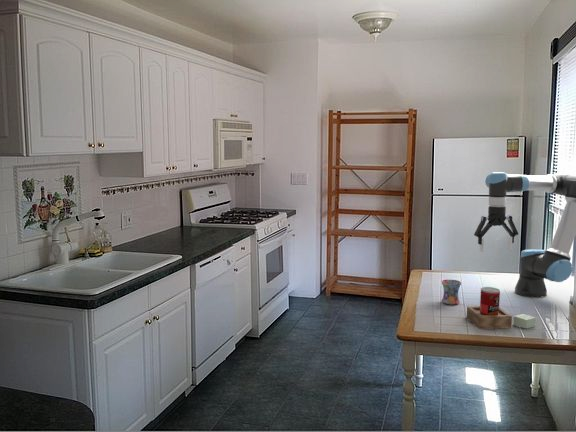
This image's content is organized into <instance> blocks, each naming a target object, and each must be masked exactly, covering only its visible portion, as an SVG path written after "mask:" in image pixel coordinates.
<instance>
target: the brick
mask: <svg viewBox="0 0 576 432" xmlns="http://www.w3.org/2000/svg"><path fill="white" fill-rule="evenodd" d="M535 323H536V317H534V316H532V315H528V314H524V313H521V314H517V315H514V316H513V326H517V327H520V328H522V327H523V328H522V329H525V328H527V329H530V328H533V327H535V326H536V324H535Z"/></svg>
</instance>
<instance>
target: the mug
mask: <svg viewBox="0 0 576 432" xmlns="http://www.w3.org/2000/svg"><path fill="white" fill-rule="evenodd" d="M441 284H442V289H443V295H442V298H441V302H442V303H444V304H446V305H451V306H452V305H453V306H454V305H458V304H460V303H461V302H460V298H459V290H460V287H461V285H462V281H460V280H457V279H443V280H441Z"/></svg>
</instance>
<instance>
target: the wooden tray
mask: <svg viewBox="0 0 576 432" xmlns="http://www.w3.org/2000/svg"><path fill="white" fill-rule="evenodd" d="M466 318H467V320H469V321H470V322H471V323H472V324H473V325H474V326H475V327H477V328H478V329H512V323H513V322H512V321H513V315H511V314H509V312H507V311H506V310H504V309H503V308H501V307H500V306H499V313H498V315H482V314H481V313H480V305H479V306H477V305H476V306H473V305H472V306H469V305H468V306H466Z"/></svg>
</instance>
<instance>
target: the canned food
mask: <svg viewBox="0 0 576 432" xmlns="http://www.w3.org/2000/svg"><path fill="white" fill-rule="evenodd" d="M500 295H501V291H500V289H499V288H497V287H494V286H493V287H492V286H483V287H481V288H480V296H479V298H480V300H479V301H480V302H479V306H480V313H481V314H482V315H498V313H499V307H500V298H501V296H500Z"/></svg>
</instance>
